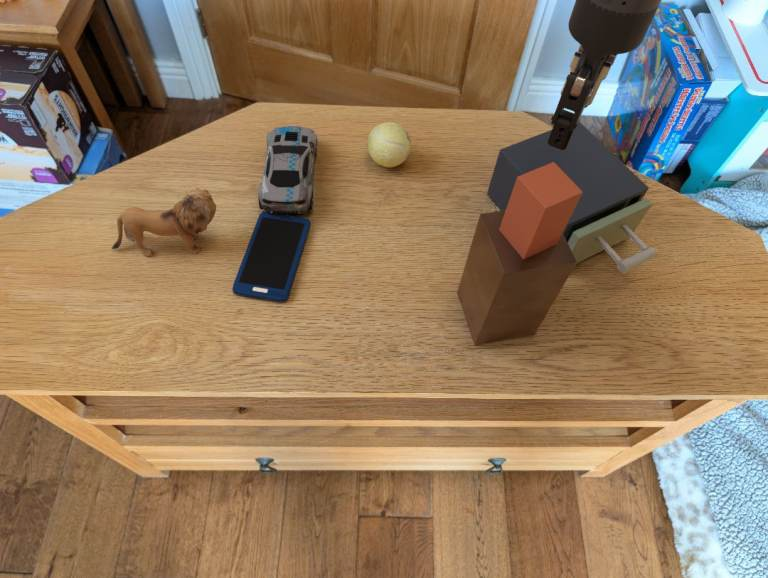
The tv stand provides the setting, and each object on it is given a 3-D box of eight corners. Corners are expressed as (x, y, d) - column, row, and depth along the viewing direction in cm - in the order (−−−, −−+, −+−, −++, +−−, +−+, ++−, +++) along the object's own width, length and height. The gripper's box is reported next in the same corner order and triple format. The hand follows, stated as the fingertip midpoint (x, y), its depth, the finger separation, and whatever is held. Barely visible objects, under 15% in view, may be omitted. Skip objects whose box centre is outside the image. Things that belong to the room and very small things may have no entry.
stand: (513, 283, 75) (549, 204, 61) (534, 335, 71) (577, 262, 57) (456, 292, 74) (480, 213, 60) (474, 345, 70) (503, 273, 56)
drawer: (659, 267, 76) (685, 235, 70) (589, 303, 73) (611, 272, 67) (569, 174, 85) (585, 139, 79) (503, 202, 81) (515, 167, 75)
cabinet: (622, 230, 81) (649, 187, 73) (547, 265, 77) (568, 224, 69) (558, 164, 87) (577, 119, 80) (486, 194, 83) (499, 149, 76)
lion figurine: (223, 220, 78) (210, 175, 71) (226, 250, 76) (212, 206, 68) (113, 236, 76) (87, 191, 68) (112, 267, 73) (85, 224, 66)
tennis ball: (409, 178, 84) (413, 144, 79) (365, 176, 84) (366, 142, 79) (408, 148, 88) (412, 114, 82) (366, 146, 88) (367, 112, 82)
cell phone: (231, 294, 72) (230, 291, 71) (261, 213, 79) (260, 209, 79) (287, 303, 71) (286, 300, 71) (312, 221, 79) (311, 217, 78)
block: (556, 244, 58) (583, 192, 52) (523, 260, 57) (546, 208, 50) (531, 215, 60) (553, 161, 54) (498, 229, 59) (517, 176, 52)
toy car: (318, 139, 88) (316, 113, 84) (312, 221, 79) (310, 197, 74) (270, 138, 88) (267, 112, 84) (259, 220, 78) (254, 195, 74)
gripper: (643, 38, 48) (580, 173, 62) (678, -34, 55) (614, 101, 69) (560, 12, 50) (517, 149, 63) (604, -55, 57) (557, 81, 71)
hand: (568, 124), depth 66 cm, fingers open, 8 cm apart
